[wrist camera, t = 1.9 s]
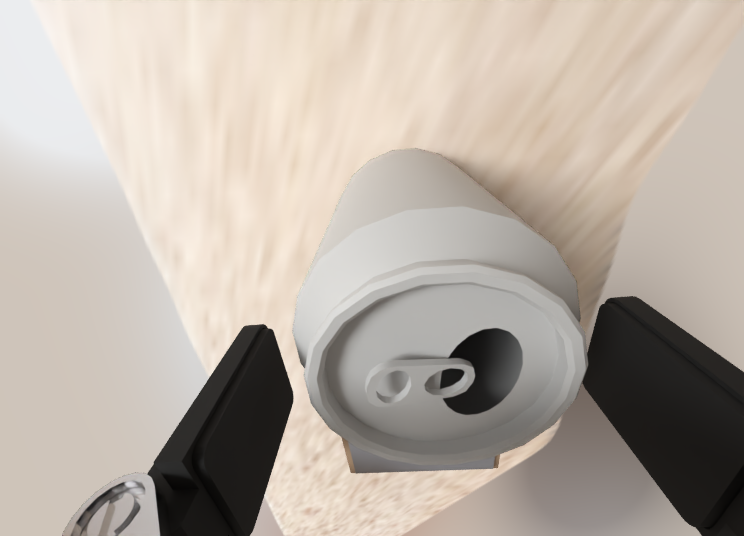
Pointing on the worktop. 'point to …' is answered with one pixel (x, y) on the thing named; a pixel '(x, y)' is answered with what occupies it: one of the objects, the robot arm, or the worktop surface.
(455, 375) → the can
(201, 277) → the worktop surface
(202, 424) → the robot arm
